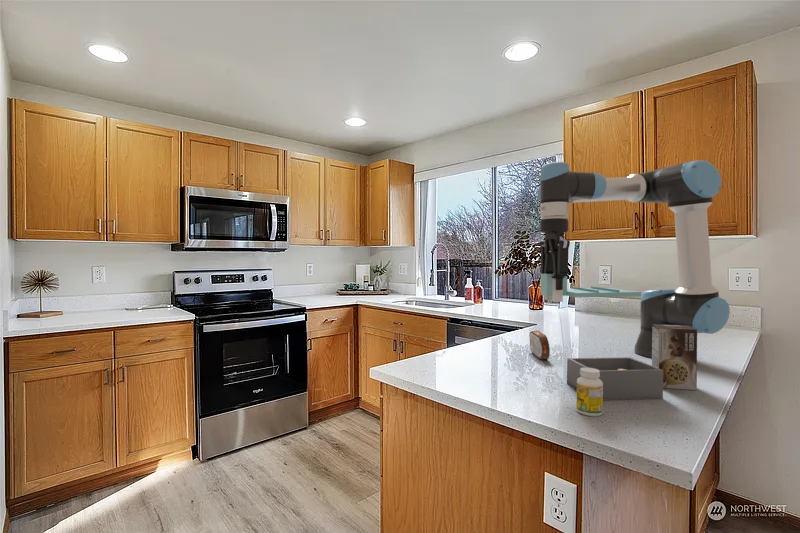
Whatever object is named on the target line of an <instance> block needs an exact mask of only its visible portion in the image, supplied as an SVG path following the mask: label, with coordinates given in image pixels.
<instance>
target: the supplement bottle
mask: <svg viewBox="0 0 800 533" xmlns="http://www.w3.org/2000/svg"><path fill="white" fill-rule="evenodd" d="M580 375H581V377H579V378H578V379H577V390H576V402H575V403H576V406H575V407H576V411H577V413H579V414H580V415H583V416H587V417H600V416H602V415H603V412H604V409H603V406H604V403H603V402H604V400H603V382H602V381H601V380H600V379H598V378H599V377H600V371H599V370H598V369H594V368H581V369H580Z"/></svg>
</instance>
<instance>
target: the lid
mask: <svg viewBox="0 0 800 533" xmlns="http://www.w3.org/2000/svg"><path fill="white" fill-rule="evenodd" d="M552 276H554V274H541V273H540V286H539V287H540V289H539V290H540V296H544V297H545V296H552V287H553V278H552ZM565 296H566V297H567V296H568V297H571V298H617V297H618V298H619V297H620V298H623V297H624V298H625V297H626V298H628V297H629V298H630V297H631V298H632V297H633V298H634V297H637V298H638V297H642V292H641V291H635V290H630V289H629V290H628V289H621V288H614V287H601V286H593V285H592V286H590V287H588V288H587V287H579V286H572V287H571V288H568V276H565V277H564V278H563V297H565Z"/></svg>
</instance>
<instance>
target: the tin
mask: <svg viewBox="0 0 800 533" xmlns="http://www.w3.org/2000/svg"><path fill="white" fill-rule="evenodd" d="M528 336H529V337H528V338H529V350H530V351H531V353H532V355H534V356H535V357H536V358H537V359H538V360H549V358H550V351H551V350H550V342H549V340H548V337H547V335H546V334H544V333H543V332H541V331H540V330H532V331H529V335H528Z"/></svg>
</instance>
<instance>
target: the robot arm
mask: <svg viewBox="0 0 800 533" xmlns="http://www.w3.org/2000/svg"><path fill="white" fill-rule="evenodd" d="M721 177H722V176H721V175H720V172H719V170H718V168H717V167H716V166H714V165H713V163H711V162H709V161H707V160H703V159H701V160H700V159H699V160H692V161H686V162H683V163H678V164H674V165H670V166H666V167H660V168H657V169H653V170H650V171H646V172H645V171H644V172H642V173H632V174H629V176H624V177H622V176H619V177H605V176H604V175H603V174H601V173H597V172H596V173H595V172H593V171H592V172H585V171H583V172H580V171H571V170H570V165H569V163H568V162H565V161H555V162H548V163H546V164H543V165H542V166H541V169H540V180H539V182H540V186H539V187H538V188H537V193H536V194H537V200H538V201H539V202H540V206H539V208H538V209H539V210H540V218H542V219H541V220H540V221H539V223H540V225H539V228H540V229H539V230H540V232H541V233H544V234H545V235H544V240H543V241H540V242H539V247H540V275H541V274H554V276H552V278H553V287H552V296H545V295H544V300H545V301H552V303H556V302H557V303H559V302H561V303H562V302H564V296H563V278H564V277H565V276H567V277H568V276H569V251H570V250H569V249H570V244H571V241H570V240H568V239H567V240H566V239H565V236H564V233H567V232H569V219H568V217H569V212H570V210H569V208H570V204H573V203H591V202H606V201H607V202H610V201H628V202H629V203H649V204H650V203H652V204H654V203H655V204H662V203H663V204H664V203H665V204H666V203H667V208H668V210H670V211H671V212H672V213H673V214H674V227H675V230H674V231H675V242H676V244H675V245H676V254H677V255H676V258H677V269H678V270H677V271H678V284H679V286H678V287H677V288H675V289H673V288H671V289H670V288H669V289H651V290H644V291H643V292H641V296H640V297H641V298H640V330H639V334H638V336H637V339H636V342H635V344H634V350H633V351H634V353H635V354H637V355H640V356H643V357H647V358H652V324H657V325H685V326H691V327H693V328H694V329H697V334H708V335H711V334H717V333H718V332H719V331H721V330H723V328H724V327H725V326H726V324H727V322H728V321H729V318H730V312H731V311H730V310H731V309H730V306H729V305H730V304H729V303H728V302H727V300H726V299H724V298H722V297H720V294H719V289H718V288H717V287H716V286H714V285H713V281H712V280H713V279H712V267H711V265H712V264H711V252H710V248H711V247H710V238H709V237H710V235H709V222H708V208H709V207H710V206H711V205H712V204H713V197H714V196H716V195H717V194H718V193H719V192H720V189H721V187H722V178H721Z"/></svg>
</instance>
